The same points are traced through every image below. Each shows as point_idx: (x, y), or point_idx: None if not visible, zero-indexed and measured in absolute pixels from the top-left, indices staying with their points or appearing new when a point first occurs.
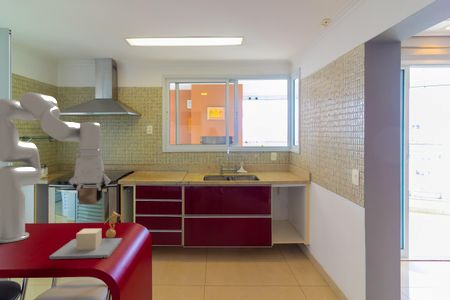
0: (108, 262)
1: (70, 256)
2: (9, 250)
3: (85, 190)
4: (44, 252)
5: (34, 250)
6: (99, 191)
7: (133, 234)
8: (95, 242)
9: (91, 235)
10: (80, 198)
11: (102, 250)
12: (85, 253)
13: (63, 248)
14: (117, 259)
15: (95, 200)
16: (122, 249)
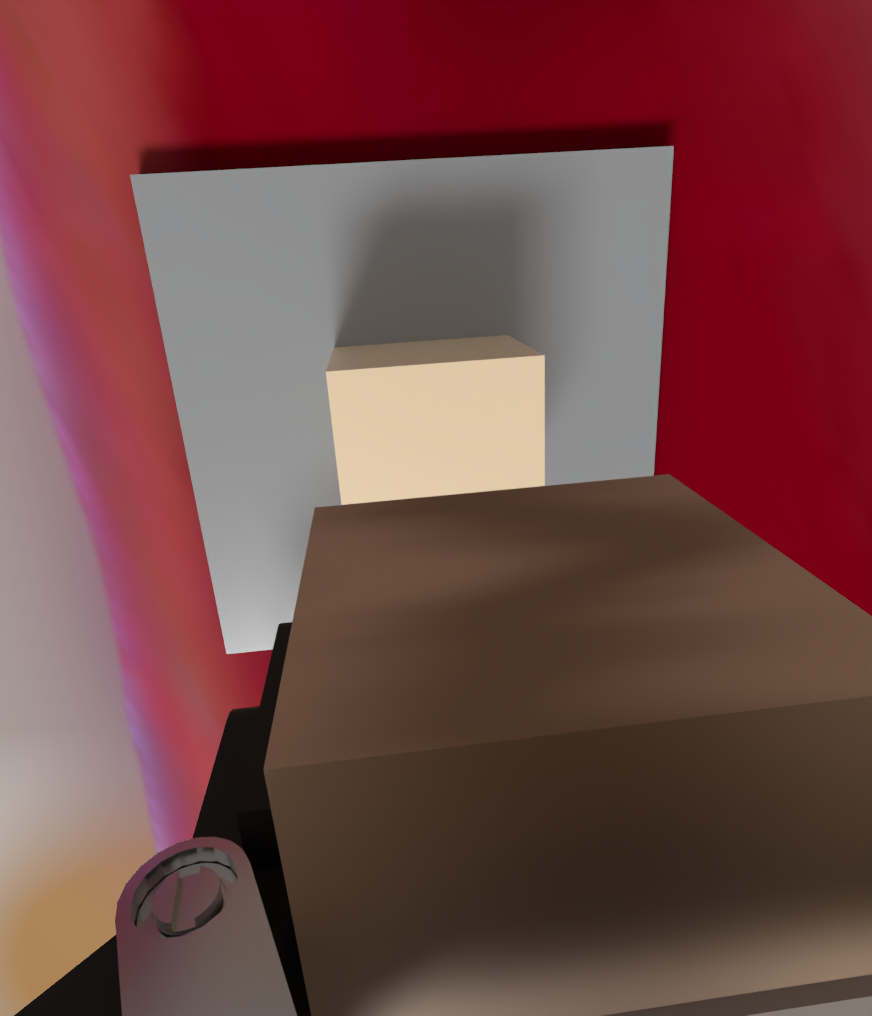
0: (65, 32)
1: (487, 156)
2: None
3: (666, 668)
4: (768, 331)
5: (864, 381)
6: (234, 841)
7: (203, 792)
8: (332, 356)
9: (374, 365)
10: (700, 525)
11: (249, 308)
12: (374, 220)
13: (633, 367)
14: (17, 121)
15: (307, 550)
16: (111, 410)
